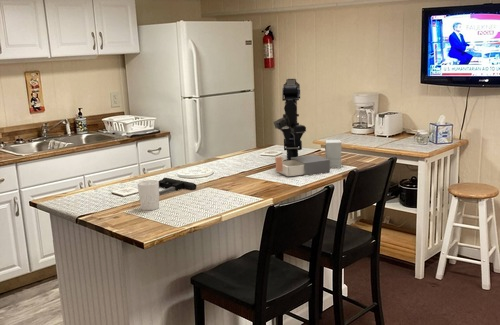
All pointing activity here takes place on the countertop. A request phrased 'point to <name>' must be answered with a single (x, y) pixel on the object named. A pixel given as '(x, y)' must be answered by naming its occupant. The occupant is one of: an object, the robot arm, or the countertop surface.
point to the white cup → (149, 194)
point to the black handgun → (174, 185)
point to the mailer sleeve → (314, 164)
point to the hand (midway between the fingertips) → (291, 144)
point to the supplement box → (333, 152)
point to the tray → (289, 167)
